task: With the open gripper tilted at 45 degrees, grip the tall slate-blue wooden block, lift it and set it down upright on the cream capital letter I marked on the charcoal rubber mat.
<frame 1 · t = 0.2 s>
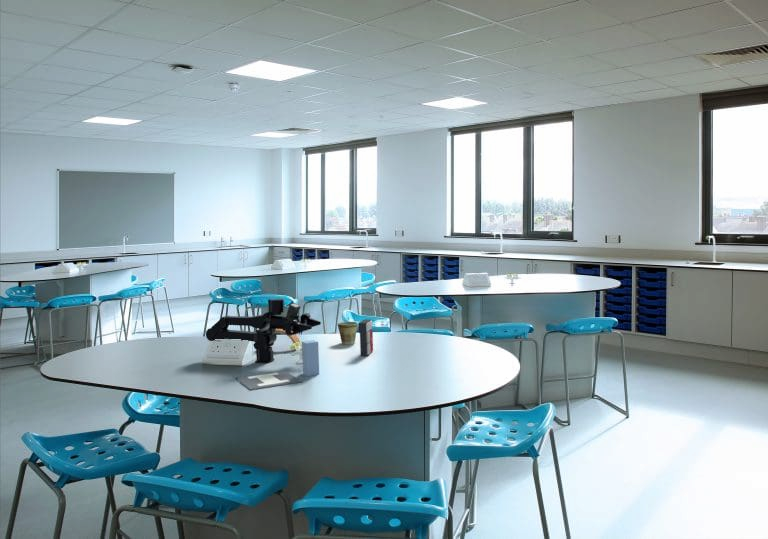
hand: (316, 325, 255), 17 cm above the table, tool horizontal, fingers open, 9 cm apart
letter mat: (268, 380, 231), on the table
blue block: (311, 373, 239), on the table
black and red box: (366, 354, 273), on the table
ceramic cup: (348, 342, 300), on the table
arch: (279, 349, 289), on the table
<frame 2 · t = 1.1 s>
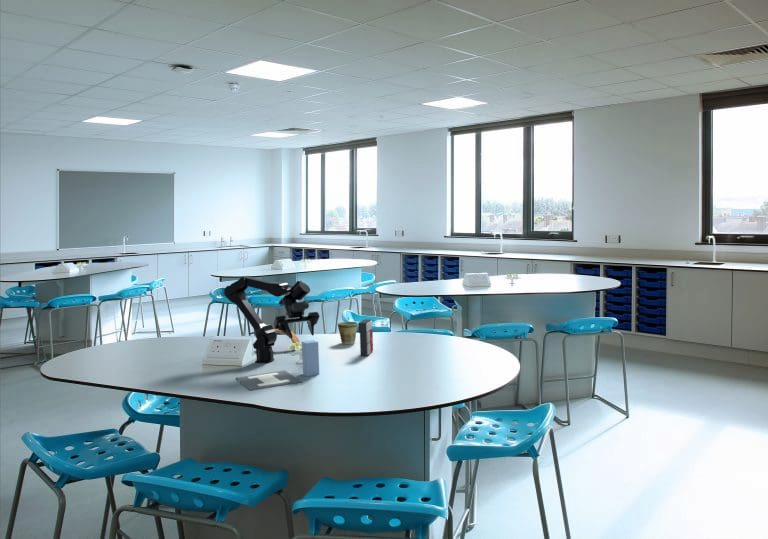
hand: (302, 336, 245), 14 cm above the table, tool tilted 45°, fingers open, 9 cm apart
nothing on the table moved.
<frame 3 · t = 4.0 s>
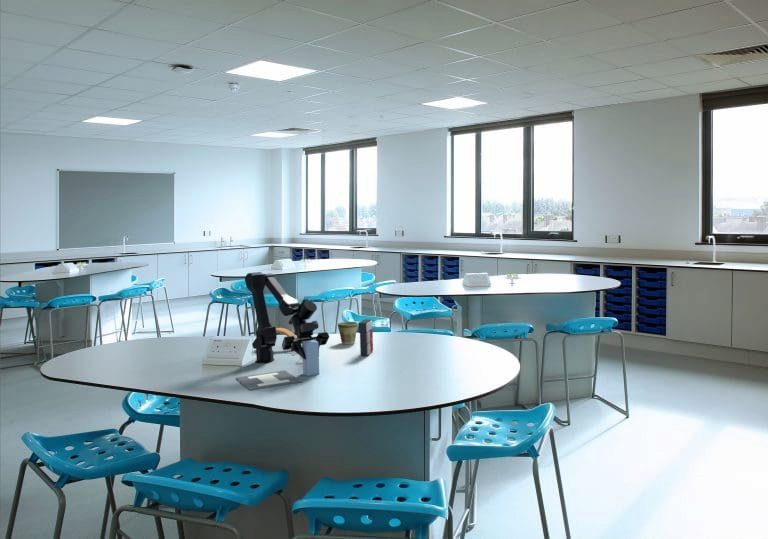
hand: (311, 358, 237), 7 cm above the table, tool tilted 45°, fingers closed on blue block, 5 cm apart
blue block: (311, 373, 239), on the table, touching gripper
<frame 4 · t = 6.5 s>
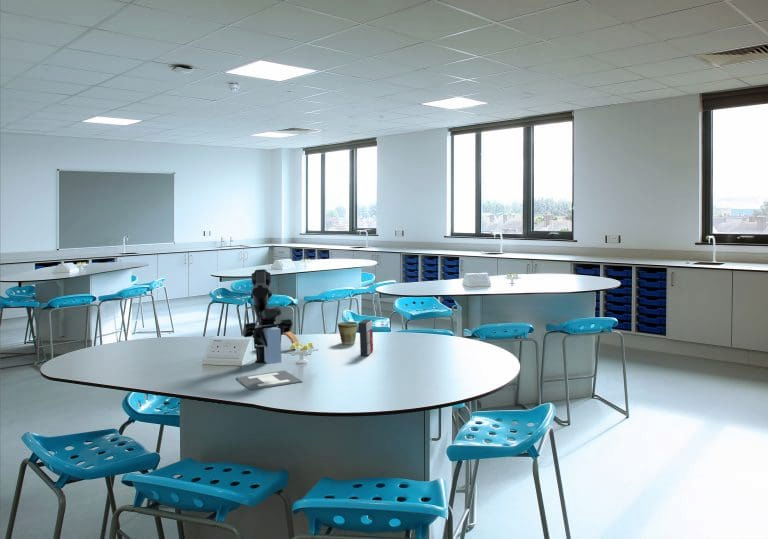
hand: (273, 345, 229), 14 cm above the table, tool tilted 45°, fingers closed on blue block, 5 cm apart
blue block: (272, 361, 231), point 7 cm above the table, touching gripper
when the fingers open (8 cm above the table, at t = 8.4 s): blue block stays where it is, resting on letter mat.
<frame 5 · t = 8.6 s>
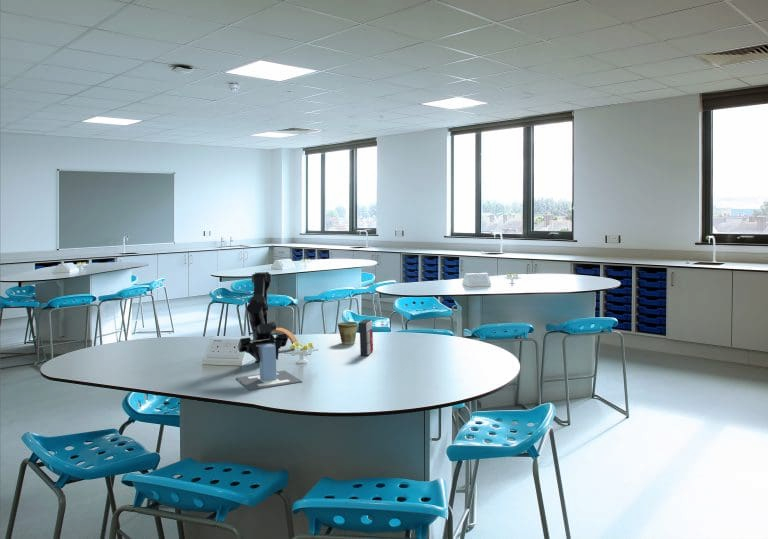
hand: (268, 360, 229), 8 cm above the table, tool tilted 45°, fingers open, 7 cm apart
blue block: (268, 378, 231), point 1 cm above the table, touching letter mat
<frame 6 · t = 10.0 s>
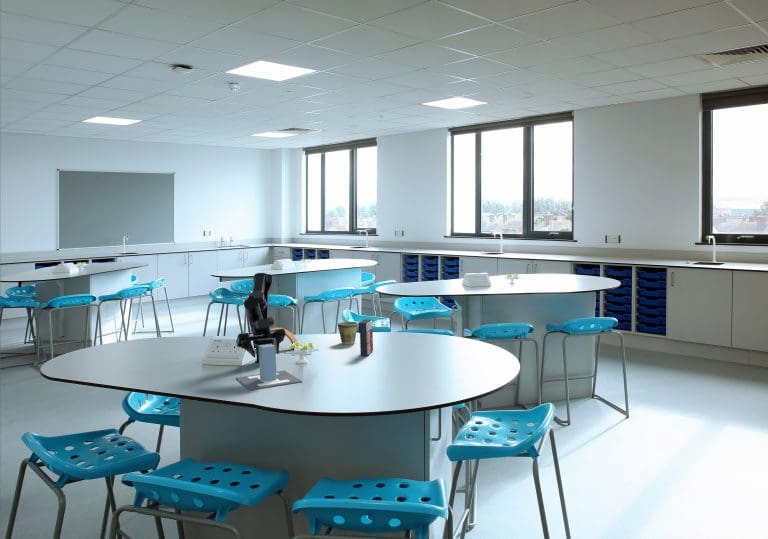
hand: (266, 355, 231), 9 cm above the table, tool tilted 45°, fingers open, 9 cm apart
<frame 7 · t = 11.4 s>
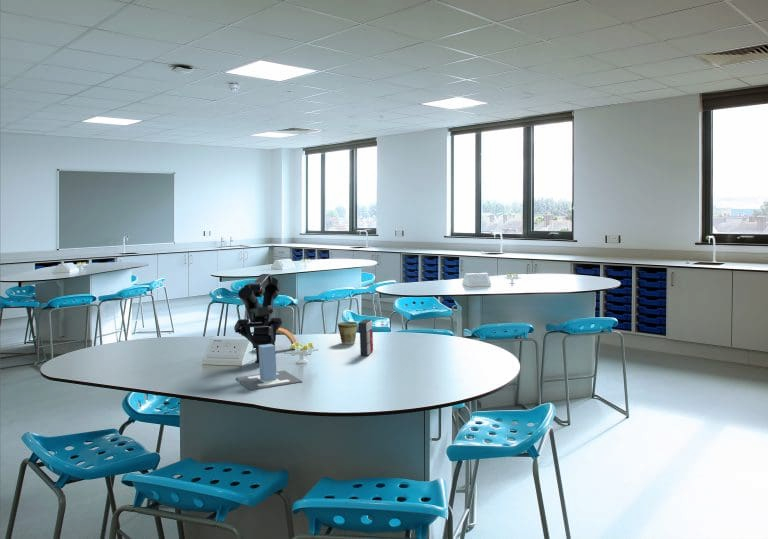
hand: (264, 342, 238), 13 cm above the table, tool tilted 40°, fingers open, 9 cm apart
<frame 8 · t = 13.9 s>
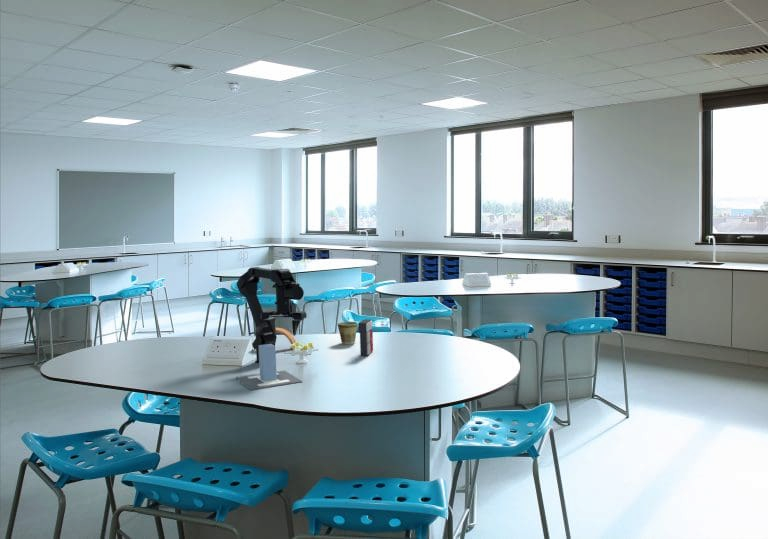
hand: (284, 335, 253), 13 cm above the table, tool pointing down, fingers open, 9 cm apart
at the end: blue block 0.0 cm off-centre on the letter mat, point 0.5 cm above the letter mat's base; blue block tilted 0°; the gripper is holding nothing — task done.
